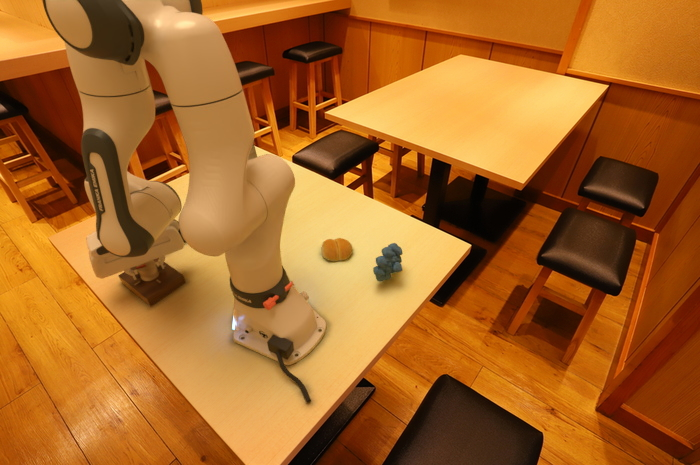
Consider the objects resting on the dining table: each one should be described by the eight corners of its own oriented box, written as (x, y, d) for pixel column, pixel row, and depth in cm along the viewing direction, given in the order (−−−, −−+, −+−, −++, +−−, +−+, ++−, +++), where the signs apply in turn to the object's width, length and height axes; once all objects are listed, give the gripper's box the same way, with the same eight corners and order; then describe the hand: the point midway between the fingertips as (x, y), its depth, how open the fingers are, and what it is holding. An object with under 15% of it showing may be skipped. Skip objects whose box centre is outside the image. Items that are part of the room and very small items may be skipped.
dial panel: (185, 282, 98) (182, 274, 96) (150, 306, 92) (146, 298, 90) (157, 262, 104) (153, 253, 102) (122, 283, 98) (117, 275, 96)
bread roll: (354, 260, 106) (354, 250, 103) (323, 263, 105) (322, 253, 102) (349, 241, 112) (350, 231, 109) (320, 244, 111) (319, 234, 108)
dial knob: (157, 266, 98) (152, 256, 96) (161, 276, 96) (156, 266, 93) (139, 273, 96) (134, 262, 94) (143, 283, 94) (137, 273, 91)
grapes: (387, 299, 95) (391, 265, 87) (366, 286, 98) (368, 253, 91) (411, 273, 102) (417, 240, 94) (390, 262, 105) (394, 229, 98)
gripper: (171, 209, 93) (186, 250, 102) (78, 239, 84) (103, 281, 93) (179, 222, 89) (193, 263, 98) (81, 255, 80) (107, 297, 89)
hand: (149, 272), depth 95 cm, fingers closed on dial knob, 4 cm apart
